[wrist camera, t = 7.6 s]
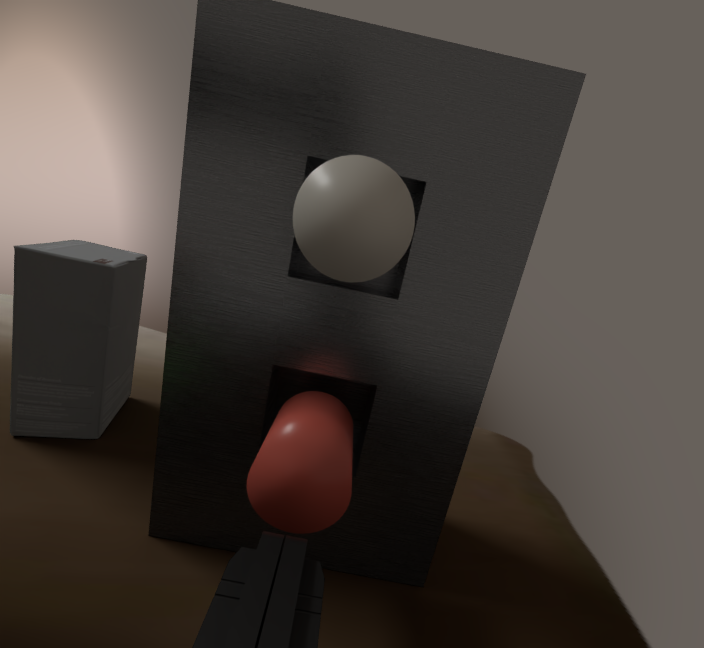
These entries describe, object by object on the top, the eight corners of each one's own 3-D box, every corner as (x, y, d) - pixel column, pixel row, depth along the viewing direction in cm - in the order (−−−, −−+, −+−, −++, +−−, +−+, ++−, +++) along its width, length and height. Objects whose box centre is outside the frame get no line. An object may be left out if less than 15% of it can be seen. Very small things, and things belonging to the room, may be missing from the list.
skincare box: (61, 392, 34) (65, 236, 31) (140, 397, 36) (151, 252, 33) (1, 440, 26) (-3, 238, 23) (106, 443, 28) (117, 258, 25)
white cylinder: (398, 293, 12) (428, 170, 11) (283, 268, 12) (304, 142, 11) (387, 282, 17) (407, 194, 16) (304, 264, 17) (320, 175, 16)
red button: (340, 542, 14) (361, 453, 13) (240, 523, 14) (254, 432, 13) (344, 468, 19) (360, 399, 18) (270, 453, 19) (282, 383, 18)
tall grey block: (423, 587, 21) (586, 74, 15) (148, 535, 21) (199, -17, 15) (407, 506, 28) (515, 129, 22) (200, 465, 28) (249, 69, 22)
